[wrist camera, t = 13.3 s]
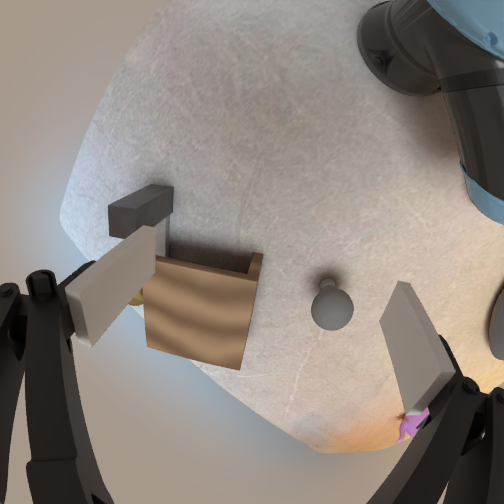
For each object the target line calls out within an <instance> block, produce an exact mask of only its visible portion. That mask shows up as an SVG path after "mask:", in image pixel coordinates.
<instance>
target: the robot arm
mask: <svg viewBox="0 0 504 504" xmlns="http://www.w3.org/2000/svg"><path fill="white" fill-rule="evenodd" d="M358 45H359V49H360V52H361V55H362V57H363V59H364V61H365V63H366V64H367V66H368V67H369V69H370V70H371V71H372V72H373V73H374V75H375V76H376V77H377V78H378V79H380V80H381V81H382V82H383V83H384V84H386V85H387V86H389V87H390V88H392V89H394V90H396V91H398V92H400V93H403V94H406V95H411V96H425V95H431V94H435V93H437V92H439V91H441V90H442V92H443V96H444V99H445V103H446V106H447V109H448V112H449V116H450V119H451V123H452V126H453V130H454V134H455V138H456V142H457V146H458V150H459V155H460V166H461V169H462V172H463V173H464V176H465V180H466V185H467V190H468V194H469V197H470V199H471V201H472V202H473V204H474V205H475V206H476V207H477V209H478V210H479V211H480V212H481V213H482V214H484V215H485V216H486V217H488V218H490V219H491V220H493V221H495V222H497V223H500V224H502V225H504V0H394V1H386V2H382V3H379V4H377V5H375V6H374V7H372V8H371V9H370V10H369V11H368V12H367V13H366V14H365V16H364V17H363V19H362V20H361V22H360V24H359V28H358ZM155 244H156V228H154V227H149V226H145V225H143V226H142V227H140V228H139V229H138V230H136V231H135V232H134V233H132V234H131V235H130V236H128V237H127V238H126V239H124V240H123V241H122V242H120V243H119V244H118V245H117V246H115V247H114V248H113V249H111V250H110V251H109V252H108V253H106V254H105V255H104V256H102V257H101V258H100V259H99V260H97V261H94V260H93V261H90V262H88V263H85V264H84V265H82V266H81V267H80V268H78V270H77V271H75V272H73V273H72V275H70V276H69V277H67V278H66V279H65V280H64V281H62V282H61V283H60V284H59V285H58V286H57V283H56V278H55V274H54V273H53V272H52V271H50V270H38V271H35V272H33V273H31V274H30V275H29V276H27V278H26V284H27V288H28V292H29V295H24V294H20V290H19V287H18V285H17V284H15V283H5V284H2V285H1V286H0V504H4V501H5V496H6V491H7V480H8V463H9V452H10V443H11V435H12V428H13V422H14V416H15V411H16V406H17V401H18V396H19V391H20V387H21V383H22V379H23V375H24V371H25V400H26V415H27V425H28V435H29V442H30V449H31V461H29V462H28V463H27V465H26V472H27V478H28V483H29V488H30V492H31V496H32V500H33V504H114V502H113V500H112V498H111V496H110V494H109V492H108V490H107V489H106V487H105V485H104V482H103V480H102V477H101V474H100V471H99V468H98V466H97V462H96V459H95V456H94V453H93V449H92V445H91V442H90V439H89V435H88V431H87V427H86V423H85V418H84V414H83V410H82V405H81V400H80V395H79V390H78V384H77V378H76V371H75V365H74V357H73V349H72V342H71V338H70V337H71V335H72V334H73V333H74V332H75V333H76V336H77V340H78V342H80V343H82V344H84V345H86V346H89V347H91V348H92V347H93V346H94V345H95V343H96V342H97V341H98V340H99V338H100V337H101V336H102V335H103V333H104V332H105V331H106V330H107V328H108V327H109V326H110V325H111V323H112V322H113V321H114V320H115V319H116V318H117V316H118V315H119V314H120V313H121V312H122V310H123V309H124V308H125V307H126V306H127V305H128V303H129V302H130V301H131V300H132V299H133V297H134V296H135V295H136V294H137V293H138V292H139V290H140V289H141V288H142V287H143V286H144V285H145V284H146V282H147V281H148V280H149V279H150V278H151V277H152V276H153V274H154V273H155ZM379 322H380V325H381V328H382V331H383V334H384V337H385V340H386V344H387V347H388V350H389V354H390V357H391V360H392V364H393V368H394V371H395V375H396V378H397V382H398V386H399V390H400V394H401V398H402V402H403V406H404V410H405V415H420V414H421V413H422V412H423V411H424V410H425V409H426V408H427V407H428V410H429V414H428V416H427V417H426V418H425V419H424V420H423V421H422V422H421V423H420V424H419V425H418V426H417V427H416V429H418V428H419V427H420V428H419V430H418V431H417V433H416V435H415V436H414V438H413V440H412V442H411V443H410V444H409V446H408V448H407V449H406V451H405V452H404V454H403V455H402V457H401V459H400V460H399V461H398V463H397V464H396V466H395V467H394V469H393V470H392V471H391V473H390V474H389V475H388V477H387V478H386V480H385V481H384V482H383V484H382V485H381V486H380V487H379V489H378V490H377V491H376V492H375V494H374V495H373V496H372V498H371V499H370V500H369V501H368V502H367V504H437V502H438V501H439V499H440V497H441V495H442V493H443V491H444V489H445V487H446V485H447V483H448V486H447V490H446V494H445V498H444V502H443V504H504V389H502V388H500V387H496V388H494V389H493V390H492V392H491V393H490V394H486V393H482V392H480V389H479V386H478V385H477V383H476V382H475V381H474V380H472V379H471V378H469V377H465V376H463V374H462V372H461V370H460V368H459V366H458V363H457V361H456V359H455V357H454V355H453V353H452V351H451V349H450V347H449V345H448V343H447V342H446V340H445V339H444V338H443V337H442V336H441V335H438V334H437V332H436V330H435V328H434V326H433V324H432V322H431V320H430V318H429V316H428V315H427V313H426V311H425V309H424V307H423V305H422V304H421V302H420V300H419V298H418V297H417V295H416V293H415V291H414V290H413V288H412V286H411V285H410V283H406V282H402V281H398V282H397V284H396V287H395V289H394V291H393V294H392V296H391V298H390V300H389V302H388V304H387V307H386V309H385V311H384V313H383V315H382V317H381V319H380V321H379ZM484 433H485V435H484V437H483V439H482V435H483V434H484ZM448 481H449V482H448Z"/></svg>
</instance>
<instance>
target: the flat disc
mask: <svg viewBox="0 0 504 504" xmlns="http://www.w3.org/2000/svg"><path fill="white" fill-rule="evenodd" d="M489 337H490V350H491V352H492V354H493V356H494V357H495V358H497V359H499V360H504V289H503V290H502V292H501V294H500V295H499V296H498V299H497V302H496V303H495V306H494V309H493V311H492V317H491V322H490V328H489Z"/></svg>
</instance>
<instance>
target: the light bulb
mask: <svg viewBox="0 0 504 504" xmlns="http://www.w3.org/2000/svg"><path fill="white" fill-rule="evenodd" d="M353 311H354V307H353V302H352V300H351V298H350V297H349V295H348V294H347V293H346V292H344V291H343V290H340V289H338V288H337V287H336V283H335V281H334V280H332V279H325V280H323V281H322V282H321V284H320V292H319V294H318V295H317V296H316V297H315V299H314V300H313V303H312V307H311V313H312V317H313V320H314V321H315V323H316V324H317V325H318V326H320V327H321V328H323V329H325V330H330V331H334V330H338V329H341V328H343V327H344V326H346V325H347V324H348V323H349V321H350V320H351V318H352V315H353Z"/></svg>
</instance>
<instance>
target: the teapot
mask: <svg viewBox="0 0 504 504" xmlns="http://www.w3.org/2000/svg"><path fill="white" fill-rule="evenodd" d="M428 414H429V410H428V407H427V408H426V409H425V410H424V411H423V412H422V413H421V414H420V415H405V417H404V419H403V421H402V423H401V424H400V428H399V431H400V438H399V439H398V440H397V441H396V443H397V442H400V441H402V440H403V439H404V436H405V430H406V432H407V433H408V434H409V435H410V436H412V437H413V438H414V436H415V435H416V433H417V431H418V430H419V428H420V427H419V428H418V429H416V427H417V426H418V425H419V424H420V423H421V422H422V421H423V420H424V419H425V418H426V417H427V416H428Z"/></svg>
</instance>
